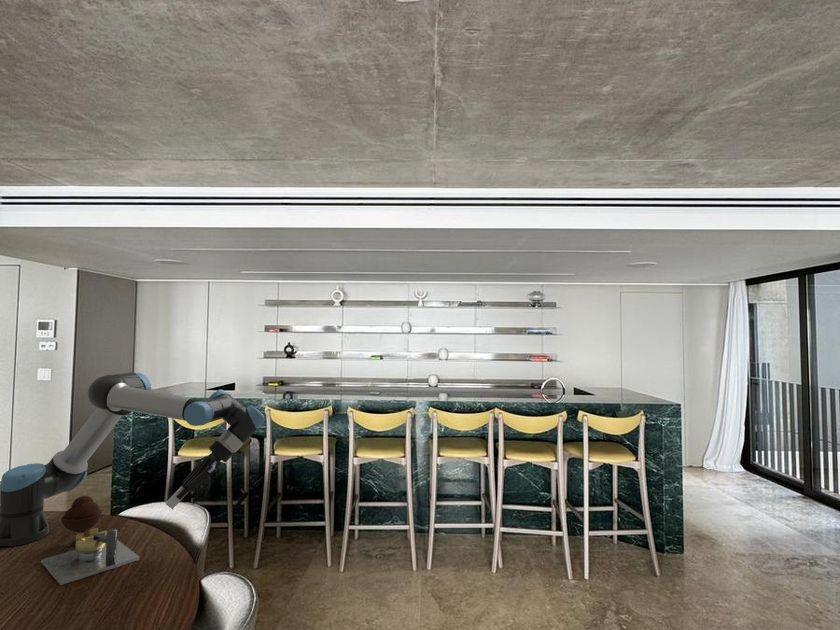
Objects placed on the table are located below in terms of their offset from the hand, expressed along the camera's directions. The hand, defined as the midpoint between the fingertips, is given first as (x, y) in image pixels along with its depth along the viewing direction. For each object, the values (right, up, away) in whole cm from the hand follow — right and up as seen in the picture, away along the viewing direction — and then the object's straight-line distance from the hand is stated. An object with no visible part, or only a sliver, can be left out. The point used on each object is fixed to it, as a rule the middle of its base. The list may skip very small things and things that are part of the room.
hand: (168, 506), depth 151 cm
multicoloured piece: (-18, -13, -7) cm, 23 cm away
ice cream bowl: (-33, -15, +7) cm, 37 cm away
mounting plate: (-21, -15, -5) cm, 26 cm away
